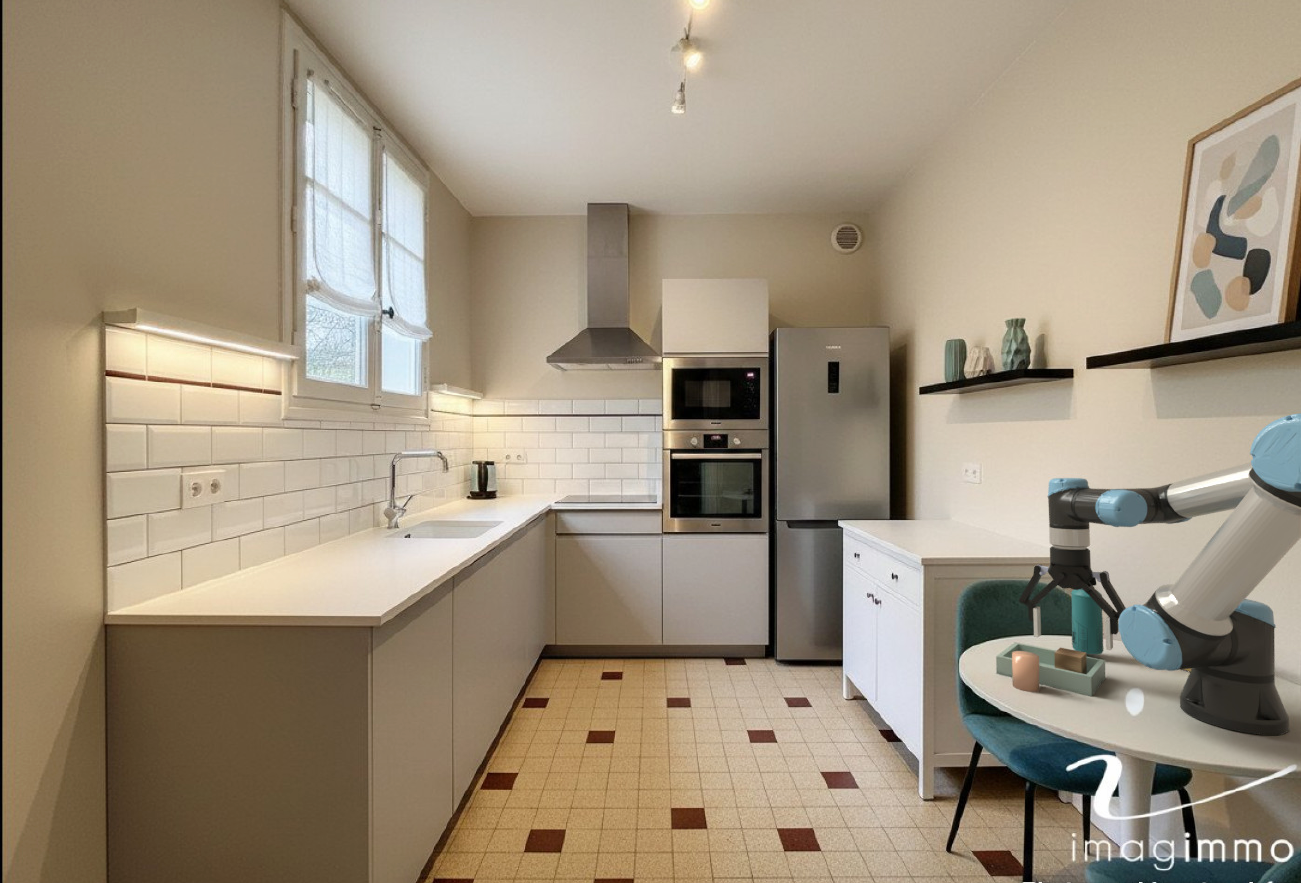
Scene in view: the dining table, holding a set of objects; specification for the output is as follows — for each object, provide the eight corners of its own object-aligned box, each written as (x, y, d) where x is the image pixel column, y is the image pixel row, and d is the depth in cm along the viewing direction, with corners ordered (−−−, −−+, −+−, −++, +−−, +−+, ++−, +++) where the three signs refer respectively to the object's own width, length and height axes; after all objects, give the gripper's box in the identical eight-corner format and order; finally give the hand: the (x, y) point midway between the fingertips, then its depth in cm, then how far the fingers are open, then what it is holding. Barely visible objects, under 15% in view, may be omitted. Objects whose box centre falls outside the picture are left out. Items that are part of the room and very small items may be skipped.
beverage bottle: (1110, 660, 149) (1109, 578, 149) (1082, 661, 149) (1081, 578, 149) (1091, 651, 155) (1090, 572, 155) (1065, 651, 156) (1064, 572, 156)
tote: (1105, 678, 138) (1105, 660, 138) (1091, 696, 128) (1091, 677, 128) (1015, 658, 151) (1015, 642, 151) (996, 673, 141) (996, 656, 141)
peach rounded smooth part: (1042, 687, 133) (1042, 654, 134) (1035, 693, 130) (1035, 660, 130) (1016, 680, 137) (1016, 649, 137) (1009, 687, 134) (1009, 654, 134)
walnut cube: (1086, 674, 139) (1086, 652, 139) (1081, 681, 135) (1081, 658, 135) (1060, 669, 142) (1060, 647, 142) (1054, 675, 139) (1054, 652, 139)
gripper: (1142, 550, 132) (1145, 650, 132) (1012, 540, 150) (1015, 627, 150) (1136, 554, 127) (1139, 658, 127) (1002, 543, 145) (1005, 634, 145)
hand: (1072, 642), depth 138 cm, fingers open, 13 cm apart
